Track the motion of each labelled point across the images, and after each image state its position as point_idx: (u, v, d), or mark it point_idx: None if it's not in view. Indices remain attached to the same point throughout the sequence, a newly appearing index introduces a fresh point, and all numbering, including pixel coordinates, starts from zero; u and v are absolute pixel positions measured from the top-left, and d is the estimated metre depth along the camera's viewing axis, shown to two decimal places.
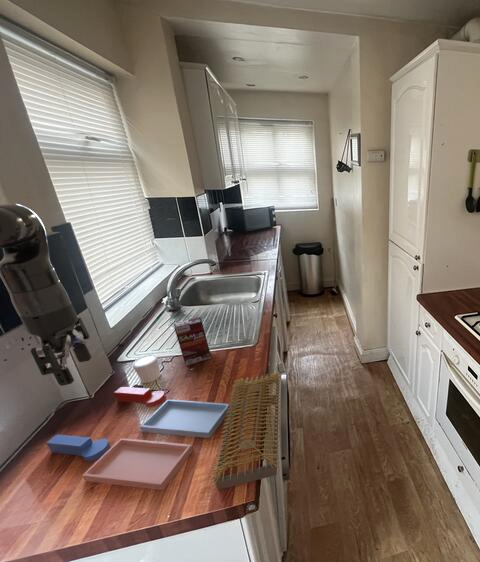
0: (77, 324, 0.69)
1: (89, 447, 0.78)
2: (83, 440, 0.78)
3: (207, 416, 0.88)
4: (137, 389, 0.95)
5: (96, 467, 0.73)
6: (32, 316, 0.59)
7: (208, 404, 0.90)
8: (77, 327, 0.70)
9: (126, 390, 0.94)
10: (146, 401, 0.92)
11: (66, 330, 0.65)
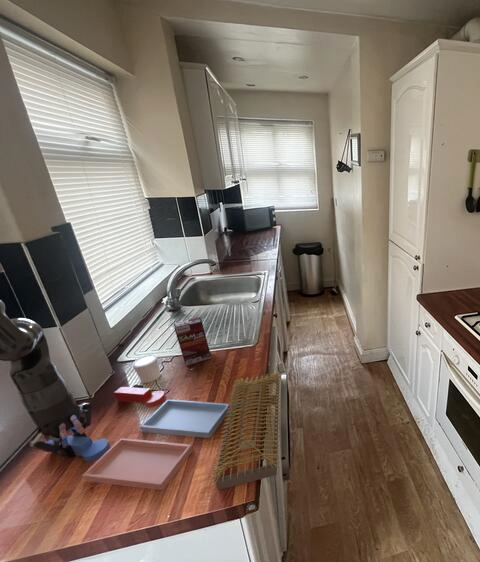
0: (84, 410, 0.80)
1: (89, 447, 0.78)
2: (83, 440, 0.78)
3: (207, 416, 0.88)
4: (137, 389, 0.95)
5: (96, 467, 0.73)
6: (29, 411, 0.69)
7: (208, 404, 0.90)
8: (84, 413, 0.80)
9: (126, 390, 0.94)
10: (146, 401, 0.92)
11: (66, 416, 0.75)
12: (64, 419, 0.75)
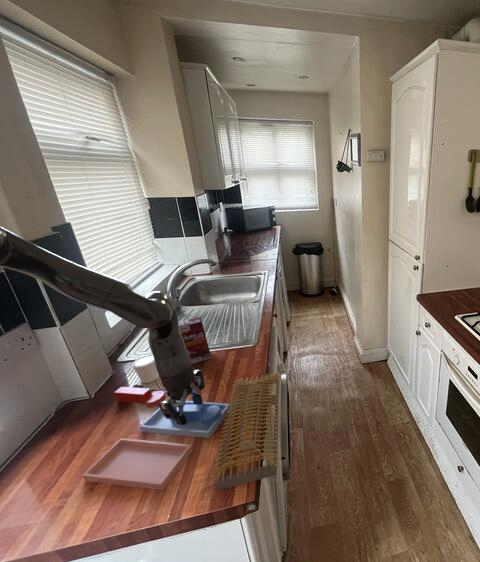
0: (198, 376, 0.87)
1: (204, 412, 0.85)
2: (198, 406, 0.85)
3: None
4: (137, 389, 0.95)
5: (96, 467, 0.73)
6: (163, 376, 0.77)
7: (208, 404, 0.90)
8: (198, 378, 0.88)
9: (126, 390, 0.94)
10: (146, 401, 0.92)
11: (186, 383, 0.83)
12: (185, 386, 0.82)
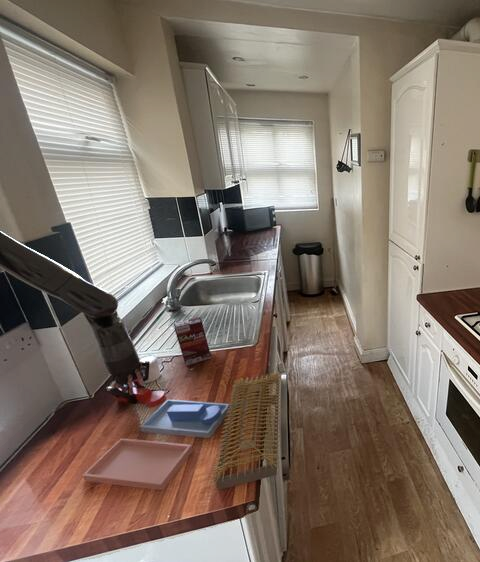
0: (144, 366, 0.96)
1: (204, 412, 0.85)
2: (198, 406, 0.85)
3: None
4: (137, 389, 0.95)
5: (96, 467, 0.73)
6: (106, 362, 0.86)
7: (208, 404, 0.90)
8: (143, 369, 0.96)
9: None
10: (146, 401, 0.92)
11: (131, 369, 0.92)
12: (130, 371, 0.91)
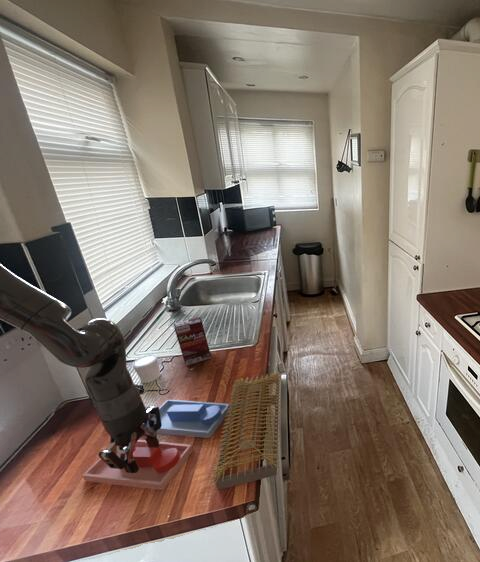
0: (153, 414, 0.75)
1: (204, 412, 0.85)
2: (198, 406, 0.85)
3: None
4: (143, 449, 0.73)
5: (96, 467, 0.73)
6: (103, 420, 0.64)
7: (208, 404, 0.90)
8: (153, 417, 0.75)
9: None
10: (155, 465, 0.71)
11: None
12: (135, 428, 0.70)
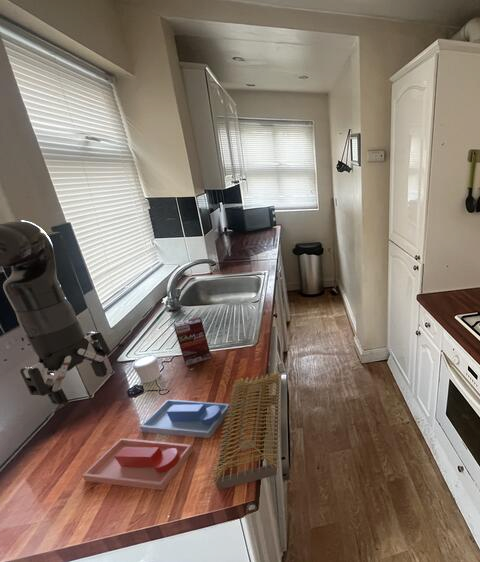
0: (95, 340, 0.68)
1: (204, 412, 0.85)
2: (198, 406, 0.85)
3: None
4: (143, 449, 0.73)
5: (96, 467, 0.73)
6: (28, 335, 0.57)
7: (208, 404, 0.90)
8: (96, 342, 0.69)
9: (129, 451, 0.73)
10: (155, 465, 0.71)
11: (72, 349, 0.63)
12: (70, 352, 0.63)
